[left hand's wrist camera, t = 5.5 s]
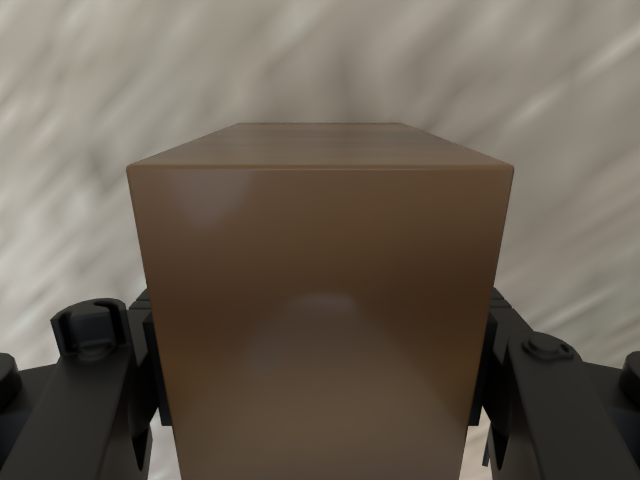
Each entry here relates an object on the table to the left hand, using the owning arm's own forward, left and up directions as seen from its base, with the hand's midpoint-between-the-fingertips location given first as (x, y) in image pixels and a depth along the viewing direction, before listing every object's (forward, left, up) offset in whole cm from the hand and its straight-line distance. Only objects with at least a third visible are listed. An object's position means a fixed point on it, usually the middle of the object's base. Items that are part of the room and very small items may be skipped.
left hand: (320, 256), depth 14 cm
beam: (+17, +29, -1) cm, 34 cm away
